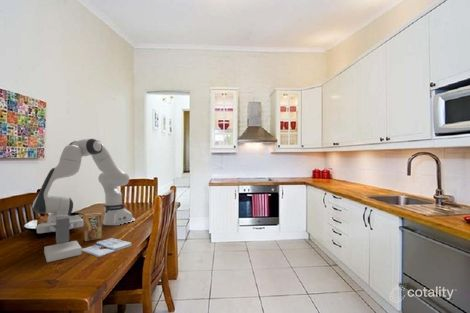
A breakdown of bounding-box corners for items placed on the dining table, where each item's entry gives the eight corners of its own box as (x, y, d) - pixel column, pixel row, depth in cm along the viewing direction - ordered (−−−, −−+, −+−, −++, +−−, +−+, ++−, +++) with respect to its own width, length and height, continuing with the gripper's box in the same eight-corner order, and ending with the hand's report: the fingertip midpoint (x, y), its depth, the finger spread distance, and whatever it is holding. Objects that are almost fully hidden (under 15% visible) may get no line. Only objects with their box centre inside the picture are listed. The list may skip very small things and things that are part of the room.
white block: (76, 246, 134) (76, 240, 134) (81, 254, 124) (81, 247, 124) (44, 253, 125) (44, 246, 125) (47, 262, 115) (47, 255, 115)
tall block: (67, 238, 128) (67, 216, 128) (69, 241, 124) (69, 217, 124) (55, 240, 125) (56, 217, 125) (57, 243, 121) (57, 219, 121)
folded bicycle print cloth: (132, 246, 138) (132, 242, 138) (97, 259, 120) (97, 254, 120) (112, 240, 147) (112, 236, 147) (77, 251, 130) (77, 247, 130)
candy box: (101, 236, 151) (101, 212, 151) (101, 238, 147) (101, 213, 147) (84, 239, 147) (84, 214, 147) (84, 241, 143) (84, 215, 143)
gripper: (35, 220, 127) (36, 226, 117) (80, 214, 141) (85, 219, 131) (34, 232, 127) (36, 239, 117) (80, 225, 141) (85, 231, 131)
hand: (62, 228), depth 124 cm, fingers closed on tall block, 5 cm apart
